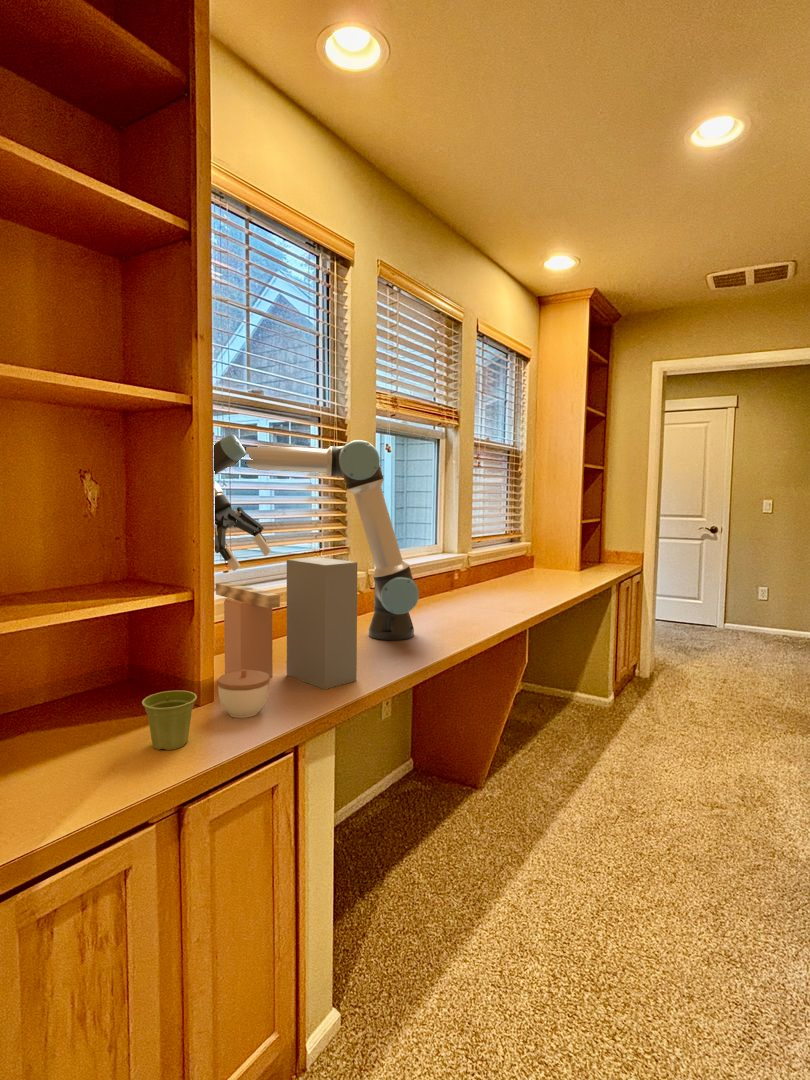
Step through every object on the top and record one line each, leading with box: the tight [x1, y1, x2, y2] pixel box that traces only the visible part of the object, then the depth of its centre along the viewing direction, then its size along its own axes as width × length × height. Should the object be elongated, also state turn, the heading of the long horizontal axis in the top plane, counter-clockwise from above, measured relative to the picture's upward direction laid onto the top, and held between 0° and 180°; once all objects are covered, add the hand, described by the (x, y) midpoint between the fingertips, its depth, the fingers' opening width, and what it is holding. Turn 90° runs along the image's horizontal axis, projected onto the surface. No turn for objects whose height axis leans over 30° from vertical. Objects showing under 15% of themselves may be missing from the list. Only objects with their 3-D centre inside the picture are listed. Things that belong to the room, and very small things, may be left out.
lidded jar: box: [217, 669, 271, 719], centre depth 127 cm, size 11×11×9 cm
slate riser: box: [286, 556, 358, 690], centre depth 151 cm, size 16×10×30 cm, turn 45°
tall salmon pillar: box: [223, 598, 274, 678], centre depth 152 cm, size 8×9×20 cm
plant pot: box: [141, 689, 198, 751], centre depth 111 cm, size 9×9×9 cm
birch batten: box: [215, 582, 281, 609], centre depth 152 cm, size 26×3×3 cm, turn 45°
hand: (253, 561), depth 173 cm, fingers open, 13 cm apart
